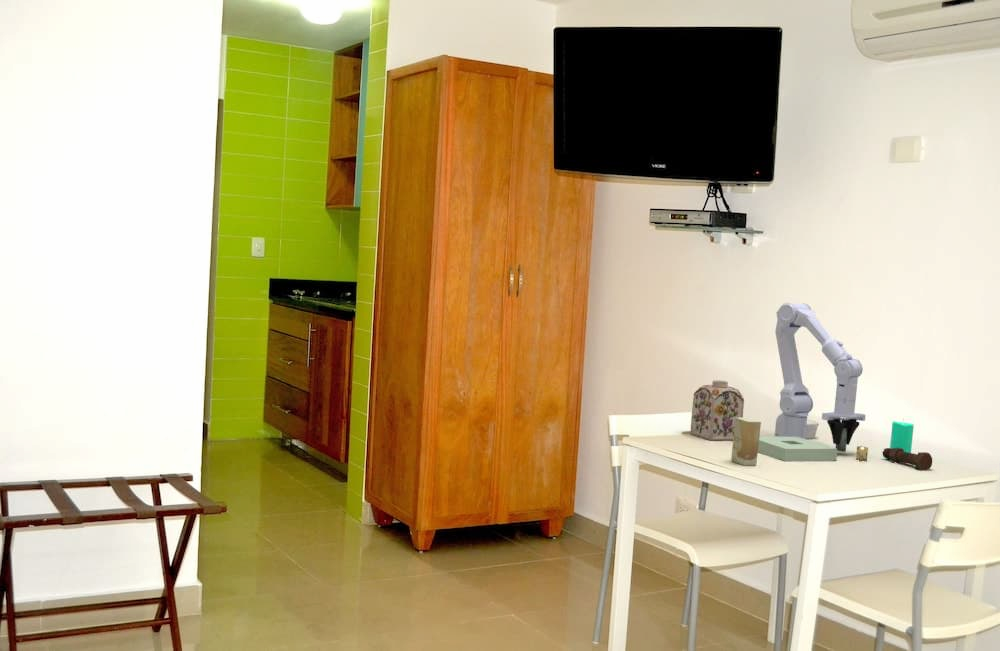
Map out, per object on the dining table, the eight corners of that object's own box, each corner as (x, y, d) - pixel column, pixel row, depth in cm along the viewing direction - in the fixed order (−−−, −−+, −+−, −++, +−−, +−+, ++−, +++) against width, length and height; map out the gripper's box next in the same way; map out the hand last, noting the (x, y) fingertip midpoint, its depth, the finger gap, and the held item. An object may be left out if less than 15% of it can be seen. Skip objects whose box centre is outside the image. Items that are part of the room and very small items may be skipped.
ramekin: (797, 440, 309) (798, 423, 308) (774, 433, 319) (776, 417, 319) (824, 439, 313) (826, 423, 313) (802, 433, 323) (803, 417, 323)
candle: (885, 456, 289) (889, 417, 288) (893, 454, 293) (897, 415, 293) (905, 460, 285) (909, 420, 284) (913, 458, 289) (917, 419, 288)
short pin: (853, 459, 280) (854, 446, 280) (861, 459, 281) (863, 446, 281) (860, 461, 277) (862, 448, 277) (869, 461, 278) (870, 448, 278)
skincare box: (730, 460, 265) (734, 417, 264) (743, 460, 266) (747, 417, 265) (744, 465, 259) (748, 421, 258) (757, 465, 260) (761, 421, 259)
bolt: (886, 465, 285) (926, 475, 271) (876, 457, 283) (915, 466, 270) (895, 448, 286) (935, 457, 272) (884, 440, 284) (924, 448, 271)
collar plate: (746, 448, 286) (747, 436, 286) (796, 448, 293) (797, 436, 292) (784, 461, 270) (785, 448, 269) (836, 460, 276) (837, 448, 276)
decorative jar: (741, 440, 299) (746, 383, 298) (710, 441, 294) (715, 383, 293) (719, 433, 310) (724, 378, 309) (688, 433, 306) (693, 377, 304)
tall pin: (833, 449, 288) (835, 426, 288) (841, 449, 289) (843, 426, 289) (839, 451, 286) (842, 428, 285) (847, 451, 287) (850, 428, 286)
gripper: (834, 401, 280) (830, 446, 281) (874, 401, 285) (869, 446, 286) (819, 397, 287) (814, 441, 288) (857, 398, 292) (853, 442, 293)
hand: (841, 444), depth 287 cm, fingers closed on tall pin, 3 cm apart
